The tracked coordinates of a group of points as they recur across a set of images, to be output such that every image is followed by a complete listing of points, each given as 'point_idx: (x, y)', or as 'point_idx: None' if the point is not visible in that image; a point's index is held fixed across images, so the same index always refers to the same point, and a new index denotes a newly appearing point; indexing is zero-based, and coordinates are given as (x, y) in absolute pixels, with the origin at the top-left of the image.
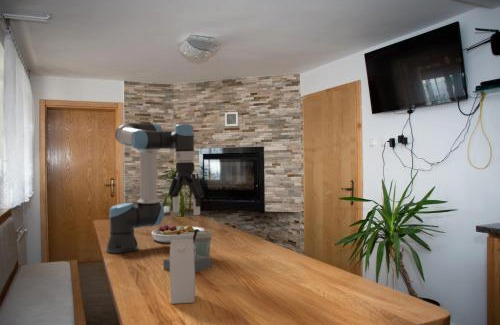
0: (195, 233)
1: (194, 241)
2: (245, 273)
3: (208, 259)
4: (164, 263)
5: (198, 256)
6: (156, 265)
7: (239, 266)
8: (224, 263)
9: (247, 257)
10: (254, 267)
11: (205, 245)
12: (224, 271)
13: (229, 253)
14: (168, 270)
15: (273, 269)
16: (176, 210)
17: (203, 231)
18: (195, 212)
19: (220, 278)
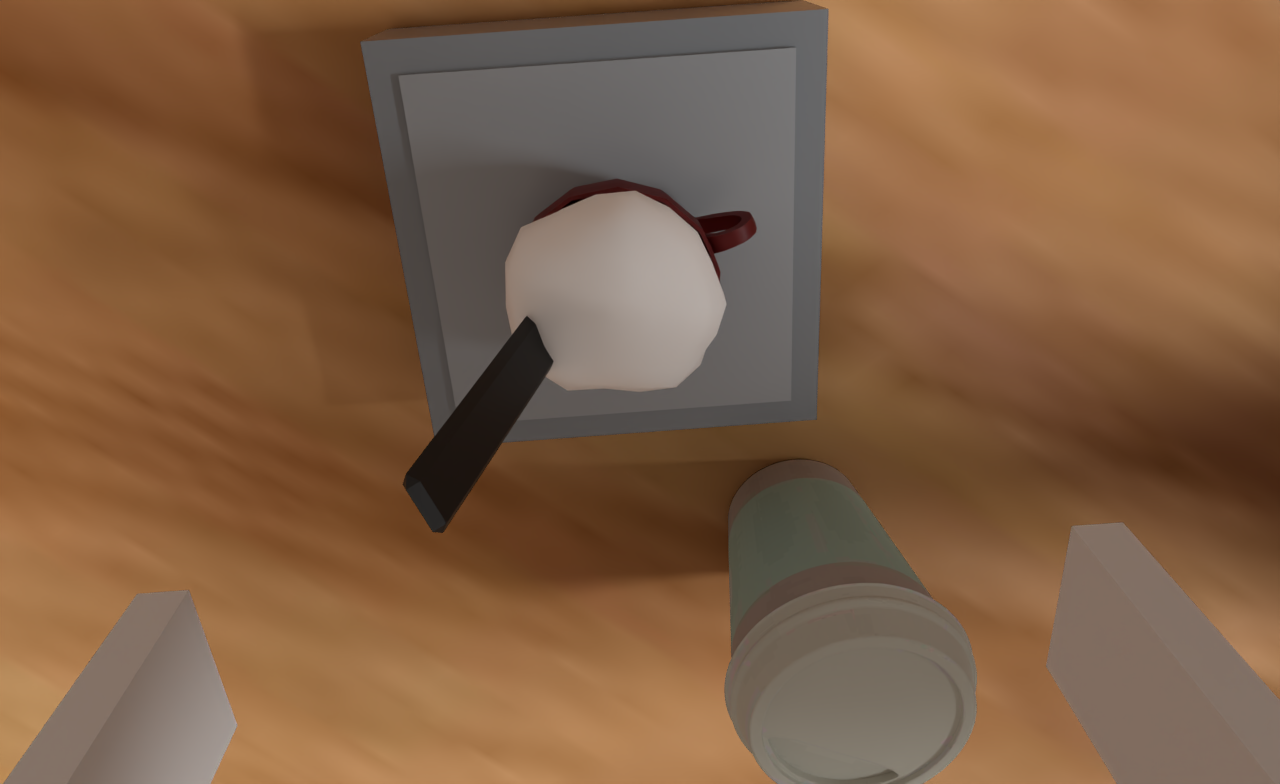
0: (435, 443)
1: (868, 563)
2: (53, 473)
3: (431, 399)
4: (794, 7)
5: None
6: (1015, 35)
7: (299, 570)
8: (487, 547)
9: (507, 765)
10: None
11: (734, 599)
12: (239, 392)
13: (744, 755)
14: (702, 7)
15: (25, 678)
16: (1084, 629)
17: (913, 770)
18: (106, 660)
19: (35, 223)
